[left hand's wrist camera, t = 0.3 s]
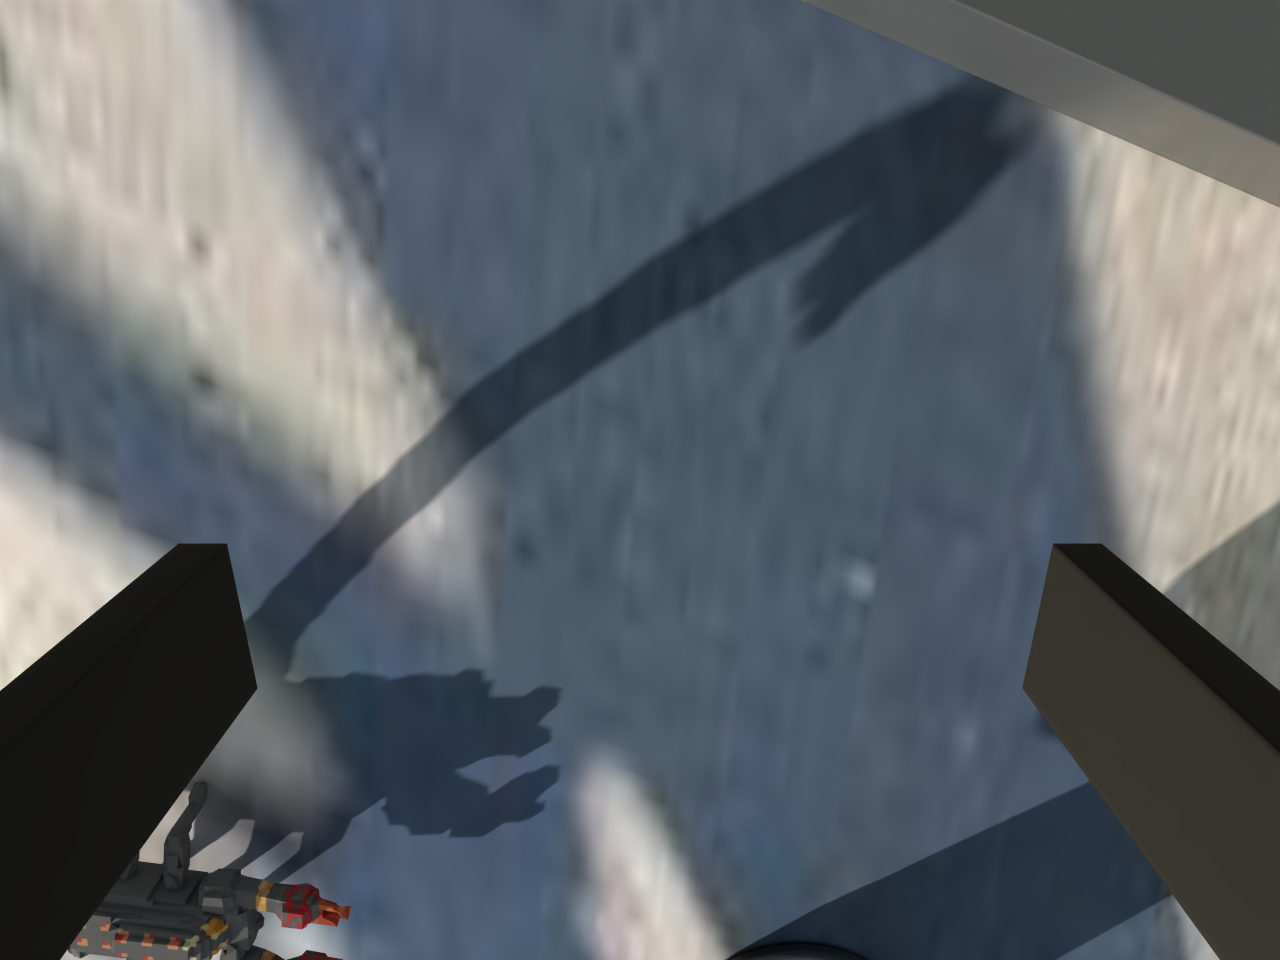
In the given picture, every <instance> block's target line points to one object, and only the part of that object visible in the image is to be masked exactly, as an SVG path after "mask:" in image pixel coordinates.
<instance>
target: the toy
mask: <svg viewBox="0 0 1280 960" xmlns="http://www.w3.org/2000/svg"><path fill="white" fill-rule="evenodd" d="M205 800H206V784H202V783H196V784H195V785H194V787H193V789H192V791H191V793H190V795H189V805H188V806H187V808H186V809H185V811H184V812H183V813H182V815H181V816H180V818H179V819H178V821H177V822H176V823H175V825H174V826H173V828H172V829H171V831H170V832H169V834H168V835H167V838H166V840H165V843H164V865H163V864H155V863H147V862H140V861H138V860H139V852H138V853H137V855H136V856H135V857H134V859H133V860H132V861H131V863H130V864H129V866H128V867H127V868H126V870H125V871H124V872H123V874H122V875H121V877H120V878H119V879H118V881H117V882H116V883H115V885H114V886H113V888H112V889H111V890H110V892H109V893H108V894H107V896H106V897H105V899H104V900H103V901H102V903H101V904H100V905H99V907H98V908H97V910H96V911H95V912H94V914H93V915H92V916H91V918H90V919H89V921H88V922H87V923H86V925H85V926H84V927H83V929H82V930H81V932H80V933H79V934H78V936H77V937H76V938H75V940H74V941H73V943H72V944H71V945H70V947H69V948H68V951H69V953H71V954H73V955H74V956H76V957H78V958H82V957H84V956H87V955H88V954H95V955H103V956H111V957H120V958H126V959H127V960H211V958H212V956H213V955H215V954H217V953H218V951H219V950H220V949H222V952H221V955H220V960H284V959H283V958H281V957H280V956H278V955H276V954H275V953H272V952H270V951H268V950H266V949H263V948H260V947H257V946H254V945H252V944H253V943H254V941H255V939H256V936H257V933H258V930H259V929H261V928H262V927H263V926H264V917H263V915H262V914H261V913H260V912H258V911H257V910H262V911H267V912H272V913H276V915H277V916H278V917H279V919H280V920H281V921H282V927H288V928H296V929H303V928H304V927H305V928H306V925H307V924H309V923H316V924H323V925H330V926H337V925H338V922H339V919H340V917H341V918H344V919H347V920H348V916H349V912H350V907H351V906H346V907H341V906H338V905H337V903H334V902H331V901H328V900H325V899H322V898H321V897H320V896H319V889H317V888H315V887H314V886H312V885H310V884H306V883H305V884H299V885H289V884H279V883H272V882H268V881H266V880H261V879H256V878H251V877H247V876H244V875H241V870H237V869H218V870H216V871H214V872H212V873H209V874H208V872H202V871H194V870H188V868H189V865H190V838H189V832H190V830H191V828H192V822H193V821H194V819H195V818H196V816H197V815H198V813H199V812H200V810H201V809H202V807H203V805H204V803H205ZM338 913H340V915H339V914H338ZM288 960H343V959H338V958H332V957H328V956H327V955H326V954H325V953H320V952H315V951H309V950H306V951H305V952H304V953H303V955H301V956H298V957H295V958H291V959H288Z"/></svg>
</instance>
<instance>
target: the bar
mask: <svg viewBox="0 0 1280 960" xmlns="http://www.w3.org/2000/svg"><path fill="white" fill-rule="evenodd" d="M801 1H803V2H805V3H808V4H810V5H812V6H815V7H817V8H819V9H822V10H824V11H826V12H829V13H831V14H833V15H836V16H838V17H840V18H842V19H845V20H847V21H849V22H852V23H854V24H856V25H859V26H861V27H863V28H866V29H868V30H870V31H873V32H875V33H877V34H880V35H882V36H884V37H887V38H889V39H891V40H893V41H896V42H898V43H900V44H903V45H905V46H907V47H910V48H912V49H914V50H917V51H919V52H921V53H924V54H926V55H928V56H931V57H933V58H935V59H937V60H940V61H942V62H944V63H947V64H949V65H951V66H954V67H956V68H958V69H961V70H963V71H965V72H968V73H970V74H972V75H975V76H977V77H979V78H982V79H984V80H986V81H988V82H991V83H993V84H995V85H998V86H1000V87H1002V88H1005V89H1007V90H1009V91H1012V92H1014V93H1016V94H1019V95H1021V96H1023V97H1026V98H1028V99H1030V100H1033V101H1035V102H1037V103H1039V104H1042V105H1044V106H1046V107H1049V108H1051V109H1053V110H1056V111H1058V112H1060V113H1063V114H1065V115H1067V116H1070V117H1072V118H1074V119H1077V120H1079V121H1081V122H1083V123H1086V124H1088V125H1090V126H1093V127H1095V128H1097V129H1100V130H1102V131H1104V132H1107V133H1109V134H1111V135H1114V136H1116V137H1118V138H1121V139H1123V140H1125V141H1128V142H1130V143H1132V144H1134V145H1137V146H1139V147H1141V148H1144V149H1146V150H1148V151H1151V152H1153V153H1155V154H1158V155H1160V156H1162V157H1165V158H1167V159H1169V160H1172V161H1174V162H1176V163H1178V164H1181V165H1183V166H1185V167H1188V168H1190V169H1192V170H1195V171H1197V172H1199V173H1202V174H1204V175H1206V176H1209V177H1211V178H1213V179H1216V180H1218V181H1220V182H1223V183H1225V184H1227V185H1229V186H1232V187H1234V188H1236V189H1239V190H1241V191H1243V192H1246V193H1248V194H1250V195H1253V196H1255V197H1257V198H1260V199H1262V200H1264V201H1267V202H1269V203H1271V204H1273V205H1276V206H1278V207H1280V0H801Z"/></svg>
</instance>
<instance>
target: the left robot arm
mask: <svg viewBox="0 0 1280 960" xmlns="http://www.w3.org/2000/svg"><path fill="white" fill-rule="evenodd" d="M256 690H257V684H256V679H255V674H254V670H253V665H252V660H251V655H250V651H249V646H248V641H247V637H246V632H245V627H244V622H243V618H242V613H241V608H240V603H239V599H238V594H237V589H236V585H235V580H234V575H233V570H232V566H231V561H230V556H229V552H228V547H227V544H178V545H176V546H175V547H174V548H173V549H172V550H170V551H169V552H168V553H167V554H165V555H164V556H163V557H162V558H161V559H159V560H158V561H157V562H156V563H155V564H153V565H152V566H151V567H150V568H149V569H147V570H146V571H145V572H144V573H142V574H141V575H140V576H139V577H138V578H136V579H135V580H134V581H133V582H132V583H130V584H129V585H128V586H127V587H126V588H124V589H123V590H122V591H121V592H119V593H118V594H117V595H116V596H115V597H113V598H112V599H111V600H110V601H109V602H107V603H106V604H105V605H104V606H103V607H101V608H100V609H99V610H98V611H96V612H95V613H94V614H93V615H92V616H90V617H89V618H88V619H87V620H86V621H84V622H83V623H82V624H81V625H80V626H78V627H77V628H76V629H75V630H73V631H72V632H71V633H70V634H69V635H67V636H66V637H65V638H64V639H63V640H61V641H60V642H59V643H58V644H57V645H55V646H54V647H53V648H52V649H50V650H49V651H48V652H47V653H46V654H44V655H43V656H42V657H41V658H40V659H38V660H37V661H36V662H35V663H34V664H32V665H31V666H30V667H29V668H27V669H26V670H25V671H24V672H23V673H21V674H20V675H19V676H18V677H17V678H15V679H14V680H13V681H12V682H11V683H9V684H8V685H7V686H6V687H4V688H3V689H2V690H1V691H0V960H60V959H61V958H62V956H63V955H64V954H65V952H66V951H67V949H68V948H69V947H70V945H71V944H72V943H73V941H74V940H75V938H76V937H77V936H78V934H79V933H80V932H81V930H82V929H83V927H84V926H85V925H86V923H87V922H88V921H89V919H90V918H91V916H92V915H93V914H94V912H95V911H96V910H97V908H98V907H99V905H100V904H101V903H102V901H103V900H104V899H105V897H106V896H107V894H108V893H109V892H110V890H111V889H112V888H113V886H114V885H115V883H116V882H117V881H118V879H119V878H120V877H121V875H122V874H123V872H124V871H125V870H126V868H127V867H128V866H129V864H130V863H131V861H132V860H133V859H134V857H135V856H136V855H137V853H138V852H139V850H140V849H141V848H142V846H143V845H144V844H145V842H146V841H147V839H148V838H149V837H150V835H151V834H152V833H153V831H154V830H155V828H156V827H157V826H158V824H159V823H160V822H161V820H162V819H163V817H164V816H165V815H166V813H167V812H168V811H169V809H170V808H171V806H172V805H173V804H174V802H175V801H176V800H177V798H178V797H179V795H180V794H181V793H182V791H183V790H184V789H185V787H186V786H187V784H188V783H189V782H190V780H191V779H192V778H193V776H194V775H195V773H196V772H197V771H198V769H199V768H200V767H201V765H202V764H203V762H204V761H205V760H206V758H207V757H208V756H209V754H210V753H211V751H212V750H213V749H214V747H215V746H216V745H217V743H218V742H219V740H220V739H221V738H222V736H223V735H224V734H225V732H226V731H227V729H228V728H229V727H230V725H231V724H232V723H233V721H234V720H235V718H236V717H237V716H238V714H239V713H240V712H241V710H242V709H243V707H244V706H245V705H246V703H247V702H248V701H249V699H250V698H251V696H252V695H253V694H254V692H255V691H256ZM1023 690H1024V691H1025V692H1026V694H1027V695H1028V696H1029V698H1030V699H1031V701H1032V702H1033V703H1034V705H1035V706H1036V707H1037V709H1038V710H1039V712H1040V713H1041V714H1042V716H1043V717H1044V718H1045V720H1046V721H1047V723H1048V724H1049V725H1050V727H1051V728H1052V729H1053V731H1054V732H1055V734H1056V735H1057V736H1058V738H1059V739H1060V740H1061V742H1062V743H1063V745H1064V746H1065V747H1066V749H1067V750H1068V751H1069V753H1070V754H1071V756H1072V757H1073V758H1074V760H1075V761H1076V762H1077V764H1078V765H1079V767H1080V768H1081V769H1082V771H1083V772H1084V773H1085V775H1086V776H1087V778H1088V779H1089V780H1090V782H1091V783H1092V784H1093V786H1094V787H1095V789H1096V790H1097V791H1098V793H1099V794H1100V795H1101V797H1102V798H1103V800H1104V801H1105V802H1106V804H1107V805H1108V806H1109V808H1110V809H1111V811H1112V812H1113V813H1114V815H1115V816H1116V817H1117V819H1118V820H1119V822H1120V823H1121V824H1122V826H1123V827H1124V828H1125V830H1126V831H1127V833H1128V834H1129V835H1130V837H1131V838H1132V839H1133V841H1134V842H1135V844H1136V845H1137V846H1138V848H1139V849H1140V850H1141V852H1142V853H1143V855H1144V856H1145V857H1146V859H1147V860H1148V861H1149V863H1150V864H1151V866H1152V867H1153V868H1154V870H1155V871H1156V872H1157V874H1158V875H1159V877H1160V878H1161V879H1162V881H1163V882H1164V883H1165V885H1166V886H1167V888H1168V889H1169V890H1170V892H1171V893H1172V894H1173V896H1174V897H1175V899H1176V900H1177V901H1178V903H1179V904H1180V905H1181V907H1182V908H1183V910H1184V911H1185V912H1186V914H1187V915H1188V916H1189V918H1190V919H1191V921H1192V922H1193V923H1194V925H1195V926H1196V927H1197V929H1198V930H1199V932H1200V933H1201V934H1202V936H1203V937H1204V938H1205V940H1206V941H1207V943H1208V944H1209V945H1210V947H1211V948H1212V949H1213V951H1214V952H1215V954H1216V955H1217V956H1218V958H1219V959H1220V960H1280V691H1279V690H1278V689H1277V688H1276V687H1274V686H1273V685H1272V684H1271V683H1269V682H1268V681H1267V680H1266V679H1265V678H1263V677H1262V676H1261V675H1260V674H1259V673H1257V672H1256V671H1255V670H1254V669H1253V668H1251V667H1250V666H1249V665H1248V664H1246V663H1245V662H1244V661H1243V660H1242V659H1240V658H1239V657H1238V656H1237V655H1236V654H1234V653H1233V652H1232V651H1231V650H1230V649H1228V648H1227V647H1226V646H1225V645H1223V644H1222V643H1221V642H1220V641H1219V640H1217V639H1216V638H1215V637H1214V636H1213V635H1211V634H1210V633H1209V632H1208V631H1207V630H1205V629H1204V628H1203V627H1202V626H1200V625H1199V624H1198V623H1197V622H1196V621H1194V620H1193V619H1192V618H1191V617H1190V616H1188V615H1187V614H1186V613H1185V612H1184V611H1182V610H1181V609H1180V608H1179V607H1177V606H1176V605H1175V604H1174V603H1173V602H1171V601H1170V600H1169V599H1168V598H1167V597H1165V596H1164V595H1163V594H1162V593H1161V592H1159V591H1158V590H1157V589H1156V588H1154V587H1153V586H1152V585H1151V584H1150V583H1148V582H1147V581H1146V580H1145V579H1144V578H1142V577H1141V576H1140V575H1139V574H1138V573H1136V572H1135V571H1134V570H1133V569H1131V568H1130V567H1129V566H1128V565H1127V564H1125V563H1124V562H1123V561H1122V560H1121V559H1119V558H1118V557H1117V556H1116V555H1115V554H1113V553H1112V552H1111V551H1110V550H1108V549H1107V548H1106V547H1105V546H1104V545H1102V544H1053V547H1052V552H1051V556H1050V561H1049V566H1048V570H1047V575H1046V580H1045V585H1044V589H1043V594H1042V599H1041V603H1040V608H1039V613H1038V618H1037V622H1036V627H1035V632H1034V637H1033V641H1032V646H1031V651H1030V655H1029V660H1028V665H1027V670H1026V674H1025V679H1024V684H1023ZM731 960H864V959H862V958H860V957H858V956H856V955H854V954H851V953H849V952H846V951H843V950H840V949H836V948H832V947H827V946H821V945H813V944H786V945H777V946H770V947H766V948H761V949H757V950H754V951H751V952H748V953H745V954H743V955H740V956H738V957H736V958H733V959H731Z"/></svg>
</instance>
